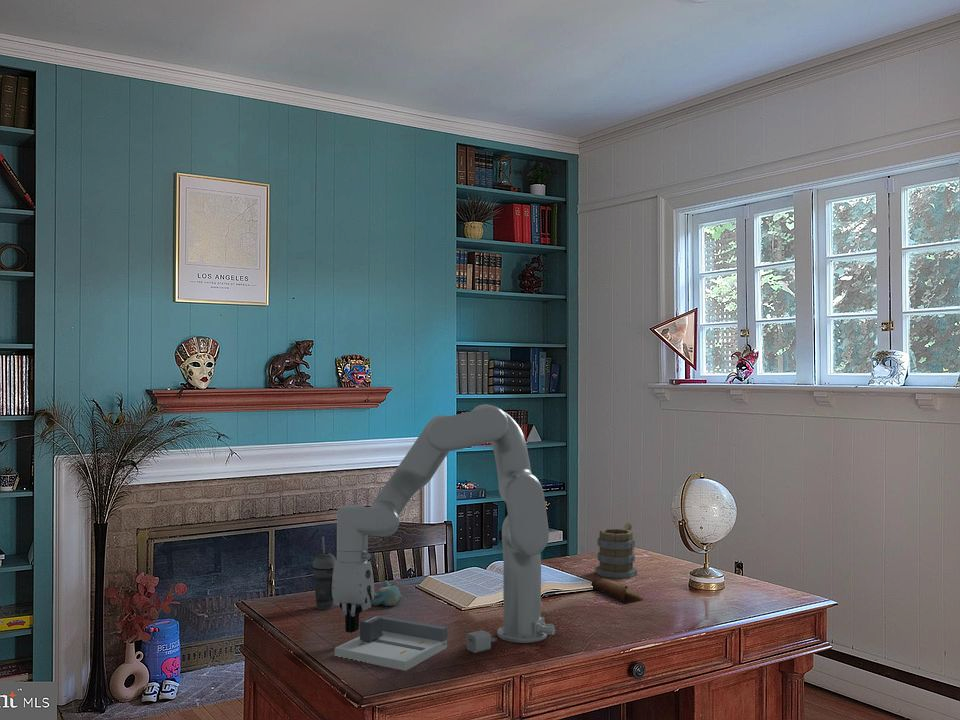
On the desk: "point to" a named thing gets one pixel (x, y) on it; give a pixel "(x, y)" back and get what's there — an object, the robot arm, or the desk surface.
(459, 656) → the desk surface
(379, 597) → the stuffed animal
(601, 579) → the sunglasses case
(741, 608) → the desk surface
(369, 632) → the fader knob
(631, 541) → the tankard
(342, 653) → the console
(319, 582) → the beverage cup
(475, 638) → the usb wall charger
